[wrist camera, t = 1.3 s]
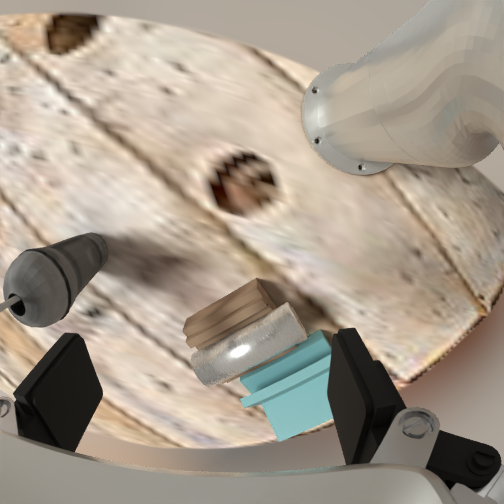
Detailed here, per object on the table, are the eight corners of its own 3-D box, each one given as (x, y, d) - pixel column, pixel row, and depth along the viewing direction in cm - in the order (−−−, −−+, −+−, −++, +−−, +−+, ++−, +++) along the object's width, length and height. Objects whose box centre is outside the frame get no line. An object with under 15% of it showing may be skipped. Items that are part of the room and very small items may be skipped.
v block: (320, 329, 38) (331, 358, 32) (351, 378, 40) (363, 407, 34) (240, 371, 40) (239, 403, 34) (278, 414, 42) (282, 444, 36)
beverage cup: (64, 265, 35) (-39, 343, 16) (74, 212, 33) (-47, 267, 14) (110, 287, 36) (22, 388, 17) (124, 234, 34) (17, 313, 15)
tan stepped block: (256, 277, 36) (257, 292, 32) (294, 333, 38) (299, 352, 34) (186, 318, 37) (180, 336, 33) (228, 368, 39) (226, 388, 35)
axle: (284, 295, 33) (289, 314, 29) (304, 325, 34) (310, 346, 30) (194, 345, 35) (188, 368, 31) (216, 370, 36) (213, 394, 32)
